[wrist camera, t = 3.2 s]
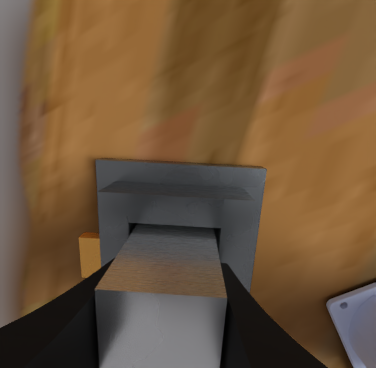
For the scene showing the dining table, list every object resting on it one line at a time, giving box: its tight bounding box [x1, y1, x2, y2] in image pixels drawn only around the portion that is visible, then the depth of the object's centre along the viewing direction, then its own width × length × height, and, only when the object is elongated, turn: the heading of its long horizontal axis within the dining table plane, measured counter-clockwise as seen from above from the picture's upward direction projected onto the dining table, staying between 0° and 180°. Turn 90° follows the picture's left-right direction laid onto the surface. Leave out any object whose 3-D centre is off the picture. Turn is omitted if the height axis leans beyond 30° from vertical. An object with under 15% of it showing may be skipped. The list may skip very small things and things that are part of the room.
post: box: [95, 223, 227, 368], centre depth 10 cm, size 4×4×6 cm
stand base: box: [79, 158, 267, 293], centre depth 12 cm, size 10×10×4 cm
